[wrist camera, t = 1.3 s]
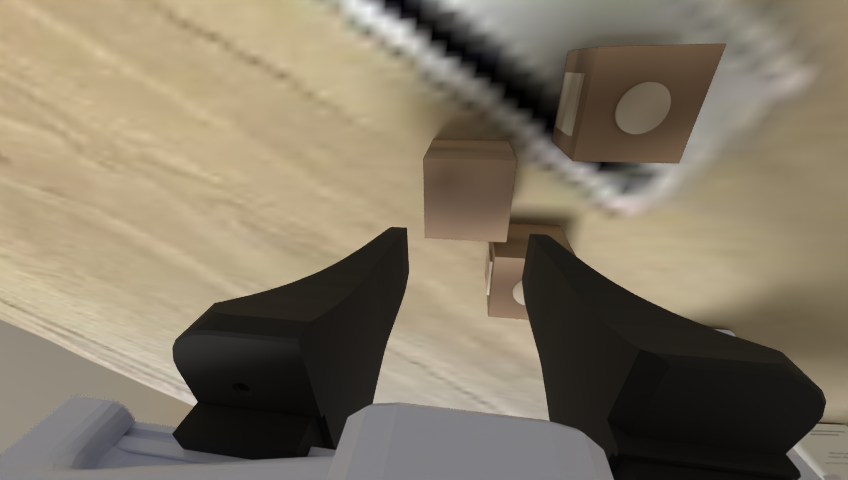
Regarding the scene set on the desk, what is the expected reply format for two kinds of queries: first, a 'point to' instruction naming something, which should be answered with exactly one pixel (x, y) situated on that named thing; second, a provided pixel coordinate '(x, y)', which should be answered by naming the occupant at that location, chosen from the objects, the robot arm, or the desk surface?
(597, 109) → the marked block 1
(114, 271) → the desk surface
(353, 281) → the robot arm
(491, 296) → the marked block 2
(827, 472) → the ink box
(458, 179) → the plain block
